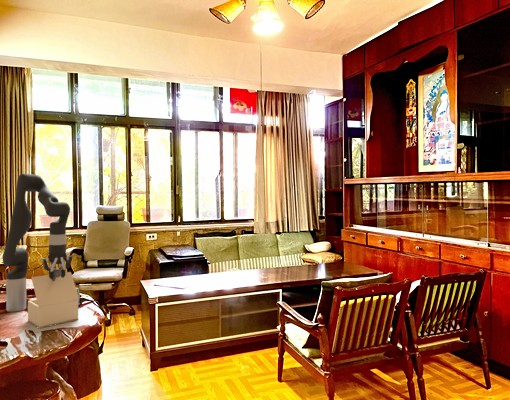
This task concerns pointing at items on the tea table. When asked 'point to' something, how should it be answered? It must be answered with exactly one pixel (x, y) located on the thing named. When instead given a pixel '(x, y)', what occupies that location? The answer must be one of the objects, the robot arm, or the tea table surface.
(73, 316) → the carton
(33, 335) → the tea table surface
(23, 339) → the tea table surface
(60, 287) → the lid flap
